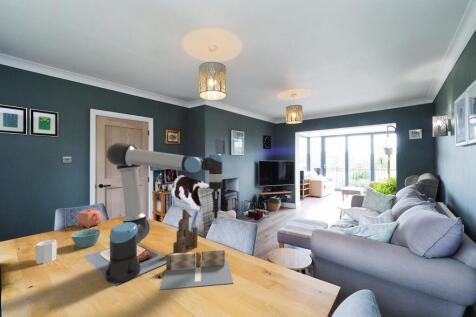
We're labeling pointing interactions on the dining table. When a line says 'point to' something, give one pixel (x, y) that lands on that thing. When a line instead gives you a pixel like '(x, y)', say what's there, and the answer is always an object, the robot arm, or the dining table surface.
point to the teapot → (89, 218)
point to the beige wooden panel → (183, 260)
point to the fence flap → (213, 258)
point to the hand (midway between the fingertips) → (215, 223)
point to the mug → (45, 251)
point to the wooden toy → (185, 234)
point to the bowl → (86, 237)
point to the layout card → (197, 277)
